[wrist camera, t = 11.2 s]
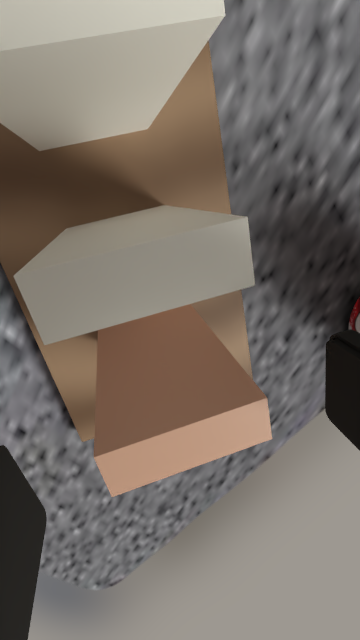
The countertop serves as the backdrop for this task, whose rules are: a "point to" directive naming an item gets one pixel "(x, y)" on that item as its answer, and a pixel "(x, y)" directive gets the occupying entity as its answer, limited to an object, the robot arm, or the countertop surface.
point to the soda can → (355, 317)
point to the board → (117, 212)
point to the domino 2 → (134, 269)
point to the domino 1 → (95, 64)
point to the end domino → (170, 400)
